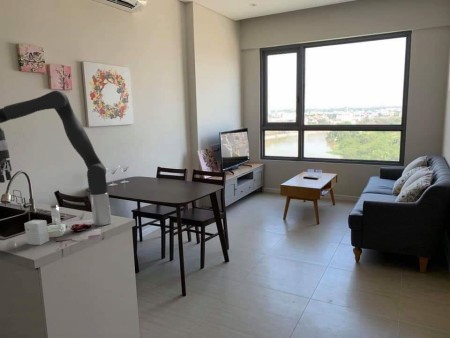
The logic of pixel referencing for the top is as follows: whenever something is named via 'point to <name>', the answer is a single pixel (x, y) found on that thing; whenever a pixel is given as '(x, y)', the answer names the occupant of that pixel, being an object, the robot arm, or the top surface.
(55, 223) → the glass shaker
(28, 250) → the top surface
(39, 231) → the small box
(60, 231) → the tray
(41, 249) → the top surface
